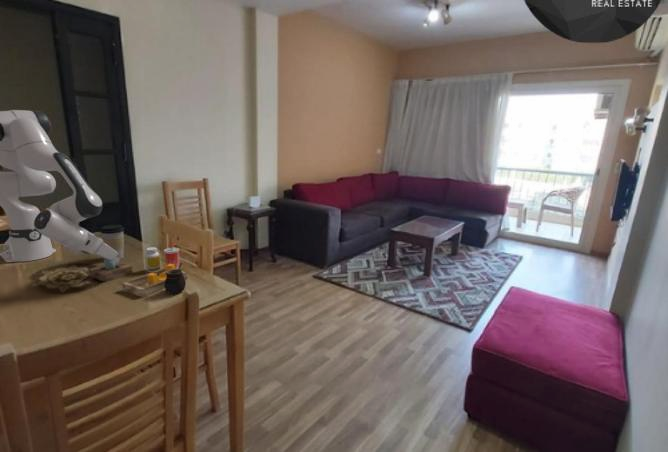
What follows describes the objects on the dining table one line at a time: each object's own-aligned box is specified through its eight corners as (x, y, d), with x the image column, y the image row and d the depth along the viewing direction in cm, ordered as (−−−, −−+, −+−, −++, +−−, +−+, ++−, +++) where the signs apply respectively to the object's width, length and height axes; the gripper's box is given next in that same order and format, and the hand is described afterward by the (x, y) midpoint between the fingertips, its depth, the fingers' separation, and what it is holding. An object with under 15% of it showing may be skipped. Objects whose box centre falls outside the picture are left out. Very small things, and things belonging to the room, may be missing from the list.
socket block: (89, 276, 141) (88, 269, 140) (116, 267, 151) (115, 261, 150) (105, 281, 136) (104, 274, 136) (132, 272, 146) (131, 266, 145)
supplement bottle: (163, 269, 150) (161, 248, 148) (151, 273, 146) (149, 251, 143) (155, 266, 153) (153, 245, 151) (143, 270, 149) (141, 249, 146)
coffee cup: (117, 261, 157) (113, 230, 154) (99, 260, 159) (94, 228, 155) (132, 255, 166) (128, 224, 163) (114, 253, 168) (110, 223, 164)
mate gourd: (160, 294, 128) (158, 269, 125) (172, 286, 135) (170, 262, 132) (178, 296, 127) (176, 270, 124) (190, 287, 134) (188, 263, 132)
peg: (104, 275, 143) (100, 252, 140) (113, 272, 146) (109, 249, 143) (109, 276, 141) (106, 253, 139) (118, 273, 144) (115, 251, 142)
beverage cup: (177, 272, 148) (174, 240, 145) (162, 271, 148) (159, 240, 145) (183, 266, 154) (180, 236, 151) (169, 266, 154) (166, 236, 151)
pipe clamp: (167, 278, 142) (165, 263, 141) (176, 279, 141) (174, 264, 140) (145, 290, 131) (143, 274, 130) (154, 291, 130) (153, 275, 129)
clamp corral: (123, 290, 130) (122, 283, 129) (168, 273, 146) (167, 266, 146) (142, 297, 125) (141, 289, 124) (187, 279, 141) (186, 272, 141)
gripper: (60, 244, 134) (91, 260, 145) (91, 253, 126) (121, 270, 137) (71, 230, 137) (100, 247, 148) (102, 238, 128) (131, 256, 139)
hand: (110, 258), depth 142 cm, fingers open, 8 cm apart
